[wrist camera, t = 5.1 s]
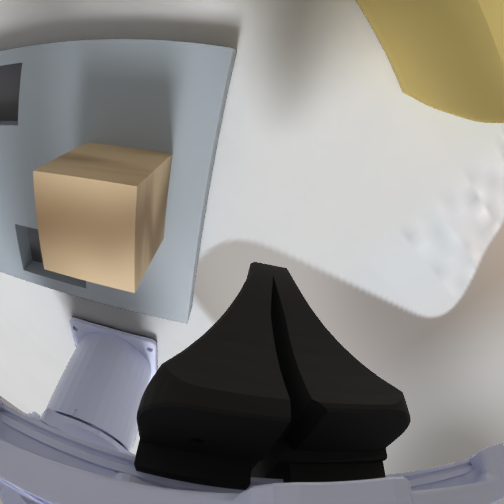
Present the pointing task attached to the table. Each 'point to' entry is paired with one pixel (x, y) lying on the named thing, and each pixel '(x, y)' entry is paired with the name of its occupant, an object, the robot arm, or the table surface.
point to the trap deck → (113, 133)
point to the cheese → (445, 52)
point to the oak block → (102, 212)
